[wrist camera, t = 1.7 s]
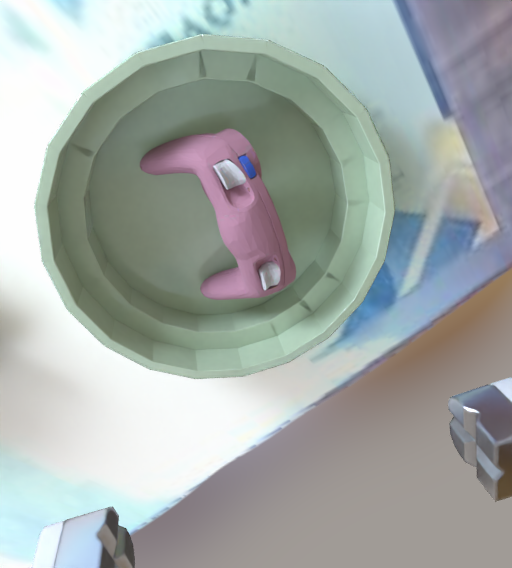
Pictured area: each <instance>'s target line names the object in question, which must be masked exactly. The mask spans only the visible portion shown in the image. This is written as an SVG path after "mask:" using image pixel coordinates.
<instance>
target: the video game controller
mask: <svg viewBox="0 0 512 568" xmlns="http://www.w3.org/2000/svg"><path fill="white" fill-rule="evenodd" d="M140 168H141V170H142V171H144V172H146V173H148V174H153V175H164V174H173V173H190V174H195V175H196V176H198V177H199V179H200V181H201V185H202V188H203V190H204V192H205V194H206V196H207V197H208V199H209V200H210V202H211V203H212V205H213V207H214V209H215V212H216V218H217V223H218V227H219V231H220V235H221V237H222V239H223V242H224V244H225V245H226V246H227V248H228V249H229V251H230V252H231V253H232V254H233V255H234V257H235V258H236V261H237V263H238V266H239V267H236V268H232V269H228V270H224V271H221V272H219V273H216V274H214V275H212V276H210V277H209V278H207V279H205V280H204V281H203V283H202V284H201V287H200V290H201V293H202V294H203V295H204V296H205V297H207V298H210V299H214V300H230V299H245V298H260V297H265V296H268V295H271V294H273V293H275V292H278V291H281V290H282V289H283V288H285V287H286V286H287V285H289V284H290V283H291V282H293V281H294V280H295V277H296V266H295V263H294V261H293V259H292V257H291V253H290V250H289V249H288V246H287V241H286V238H285V234H284V231H283V228H282V225H281V222H280V219H279V216H278V214H277V211H276V209H275V206H274V204H273V201H272V199H271V197H270V195H269V193H268V190H267V188H266V186H265V185H264V183H263V181H262V172H261V166H260V161H259V159H258V157H257V154H256V152H255V150H254V149H253V147H252V146H251V144H250V142H249V141H248V140H247V139H246V138H245V137H244V136H243V135H242V134H241V133H240V132H238V131H236V130H234V129H230V128H228V129H224V130H222V131H220V132H218V133H216V134H213V133H205V134H196V135H189V136H185V137H181V138H178V139H175V140H172V141H169V142H166V143H164V144H161V145H159V146H157V147H155V148H153V149H151V150H150V151H149V152H147V153H146V154H145V155H144V157H143V158H142V159H141V161H140Z"/></svg>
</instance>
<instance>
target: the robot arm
mask: <svg viewBox="0 0 512 568" xmlns="http://www.w3.org/2000/svg"><path fill="white" fill-rule="evenodd" d="M448 403H449V411H450V412H451V413H452V414H453V415H454V417H453V418H452V420H451V422H450V434H451V437H452V440H453V443H454V445H455V447H456V449H457V451H458V453H459V454H460V456H461V457H462V458H463V460H464V461H465V462H466V463H468V464H470V465H472V466H475V467H477V478H478V480H479V481H480V482H481V484H482V485H483V486H484V487H485V489H486V490H487V492H488V493H489V494H490V495H491V497H492V498H493V499H494V500H495V502H496V501H499V500H502V499H506V498H509V497H512V378H507V379H504V380H501V381H498V382H495V383H492V384H490V385H485V386H482V387H479V388H476V389H473V390H470V391H467V392H464V393H461V394H458V395H455V396H452V397H450V399H449V402H448ZM118 520H119V515H118V514H117V512H116V511H115V509H114V508H113V507H108V508H105V509H101V510H98V511H94V512H91V513H88V514H84V515H81V516H77V517H74V518H70V519H67V520H65V521H61V522H58V523H55V524H51V525H48V526H45V527H44V528H43V530H42V531H41V533H40V535H39V539H38V543H37V547H36V551H35V555H34V559H33V563H32V567H31V568H135V567H134V566H135V557H134V549H133V543H132V541H131V537H130V535H129V533H128V531H127V529H126V528H124V527H121V526H119V525H118Z"/></svg>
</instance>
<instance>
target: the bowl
mask: <svg viewBox="0 0 512 568" xmlns="http://www.w3.org/2000/svg"><path fill="white" fill-rule="evenodd" d="M228 128H230V129H234V130H236V131H238V132H240V133H241V134H242V135H243V136H244V137H245V138H246V139H247V140H248V141H249V142H250V144H251V146H252V147H253V149H254V150H255V152H256V154H257V157H258V159H259V161H260V166H261V172H262V181H263V183H264V185H265V186H266V188H267V190H268V193H269V195H270V197H271V199H272V201H273V204H274V206H275V209H276V211H277V214H278V216H279V219H280V222H281V225H282V228H283V231H284V234H285V238H286V241H287V246H288V249H289V250H290V253H291V257H292V259H293V261H294V263H295V266H296V277H295V280H294V281H293V282H291V283H290V284H289V285H287V286H286V287H285V288H283V289H282V290H281V291H278V292H275V293H273V294H271V295H268V296H265V297H260V298H245V299H230V300H214V299H210V298H207V297H205V296H204V295H203V294H202V293H201V290H200V287H201V284H202V283H203V281H204V280H205V279H207V278H209V277H210V276H212V275H214V274H216V273H219V272H221V271H224V270H228V269H232V268H236V267H239V266H238V263H237V261H236V258H235V257H234V255H233V254H232V253H231V252H230V251H229V249H228V248H227V246H226V245H225V244H224V242H223V239H222V237H221V235H220V231H219V227H218V223H217V218H216V212H215V209H214V207H213V205H212V203H211V202H210V200H209V199H208V197H207V196H206V194H205V192H204V190H203V188H202V185H201V181H200V179H199V177H198V176H196V175H195V174H190V173H173V174H164V175H153V174H148V173H146V172H144V171H142V170H141V168H140V161H141V159H142V158H143V157H144V155H145V154H146V153H147V152H149V151H150V150H151V149H153V148H155V147H157V146H159V145H161V144H164V143H166V142H169V141H172V140H175V139H178V138H181V137H185V136H189V135H196V134H205V133H213V134H216V133H218V132H220V131H222V130H224V129H228ZM34 204H35V205H34V209H35V216H36V223H37V230H38V237H39V244H40V252H41V259H42V262H43V265H44V266H45V268H46V270H47V272H48V274H49V276H50V278H51V280H52V282H53V284H54V286H55V288H56V289H57V291H58V293H59V295H60V297H61V299H62V301H63V303H64V305H65V307H66V309H68V311H69V312H70V313H71V314H72V315H73V316H74V317H75V318H76V319H77V320H78V321H79V322H80V323H81V324H82V325H83V326H84V327H85V328H86V329H87V330H88V331H89V332H90V333H91V334H92V335H93V336H94V337H95V338H96V339H97V340H98V341H100V342H101V343H102V344H103V345H105V347H107V348H109V349H111V350H113V351H115V352H117V353H119V354H121V355H122V356H124V357H126V358H128V359H130V360H132V361H134V362H136V363H138V364H140V365H142V366H144V367H146V368H148V369H150V370H155V371H160V372H164V373H169V374H174V375H179V376H184V377H188V378H193V379H207V378H226V377H243V376H247V375H250V374H253V373H257V372H260V371H263V370H266V369H269V368H273V367H276V366H279V365H282V364H285V363H288V362H290V361H292V360H294V359H295V358H297V357H298V356H300V355H302V354H303V353H305V352H306V351H308V350H310V349H311V348H313V347H315V346H316V345H318V344H319V343H321V342H323V341H324V340H326V339H328V338H329V337H330V336H331V335H332V334H333V333H334V332H335V331H336V330H337V328H338V327H339V326H340V325H341V324H342V323H343V322H344V321H345V320H346V319H347V318H348V317H349V316H350V315H351V314H352V313H353V312H354V311H355V310H356V309H357V307H358V306H359V305H360V304H361V302H363V300H364V298H365V296H366V295H367V293H368V291H369V289H370V287H371V285H372V283H373V282H374V280H375V278H376V276H377V274H378V272H379V270H380V268H381V267H382V265H383V263H384V261H385V257H386V252H387V247H388V243H389V238H390V233H391V228H392V223H393V218H394V213H395V206H394V196H393V187H392V177H391V168H390V160H389V156H388V154H387V152H386V150H385V148H384V146H383V143H382V141H381V139H380V137H379V135H378V133H377V130H376V128H375V126H374V124H373V122H372V120H371V118H370V115H369V113H368V111H367V109H366V108H365V107H364V106H363V105H362V104H361V103H360V101H359V100H358V99H357V98H356V97H355V96H354V95H353V94H352V93H351V92H350V91H349V90H348V89H347V88H346V87H345V86H344V85H343V84H342V83H341V82H340V81H339V80H338V79H337V78H336V77H335V76H334V75H333V74H332V73H331V72H330V71H329V70H328V69H327V68H326V67H324V66H323V65H321V64H319V63H317V62H315V61H312V60H310V59H308V58H306V57H304V56H302V55H300V54H298V53H295V52H293V51H291V50H289V49H287V48H285V47H283V46H281V45H278V44H276V43H274V42H272V41H270V40H266V39H256V38H244V37H232V36H220V35H208V34H202V35H196V36H193V37H189V38H186V39H182V40H178V41H175V42H171V43H168V44H164V45H160V46H157V47H153V48H150V49H146V50H143V51H139V52H137V53H135V54H133V55H132V56H131V57H129V58H128V59H126V60H125V61H124V62H122V63H121V64H120V65H118V66H117V67H116V68H114V69H113V70H111V71H110V72H109V73H107V74H106V75H105V76H103V77H102V78H100V79H99V80H98V81H96V82H95V83H94V84H92V85H91V86H90V87H88V88H87V89H85V90H84V91H83V92H82V93H81V94H80V96H79V98H78V99H77V101H76V102H75V104H74V105H73V107H72V108H71V110H70V111H69V113H68V114H67V116H66V117H65V119H64V121H63V122H62V124H61V125H60V127H59V128H58V130H57V131H56V133H55V134H54V136H53V137H52V139H51V140H50V142H49V143H48V146H47V148H46V153H45V157H44V162H43V167H42V171H41V176H40V180H39V185H38V189H37V194H36V198H35V203H34Z"/></svg>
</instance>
